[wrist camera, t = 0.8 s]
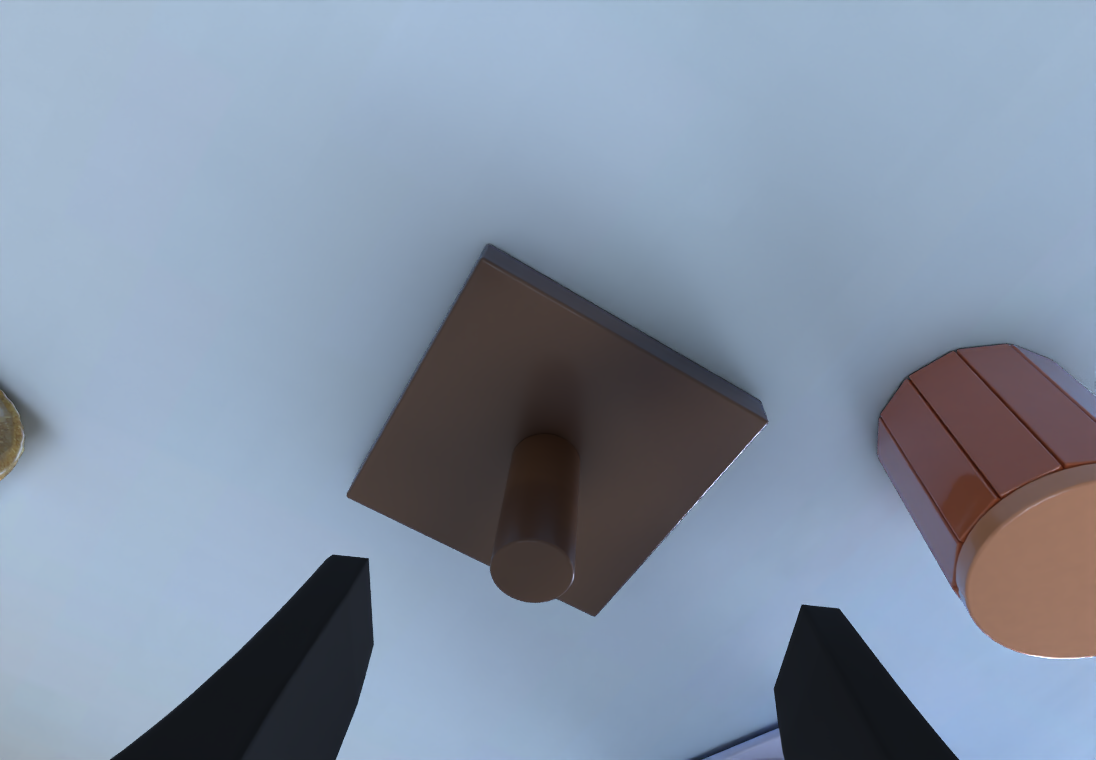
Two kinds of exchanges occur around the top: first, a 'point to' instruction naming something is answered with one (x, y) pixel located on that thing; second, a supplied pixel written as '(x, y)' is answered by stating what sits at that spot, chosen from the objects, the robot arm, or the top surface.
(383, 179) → the top surface
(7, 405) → the sprinkles bottle
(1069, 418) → the brown wooden cylinder
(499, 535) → the peg stand
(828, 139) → the top surface
